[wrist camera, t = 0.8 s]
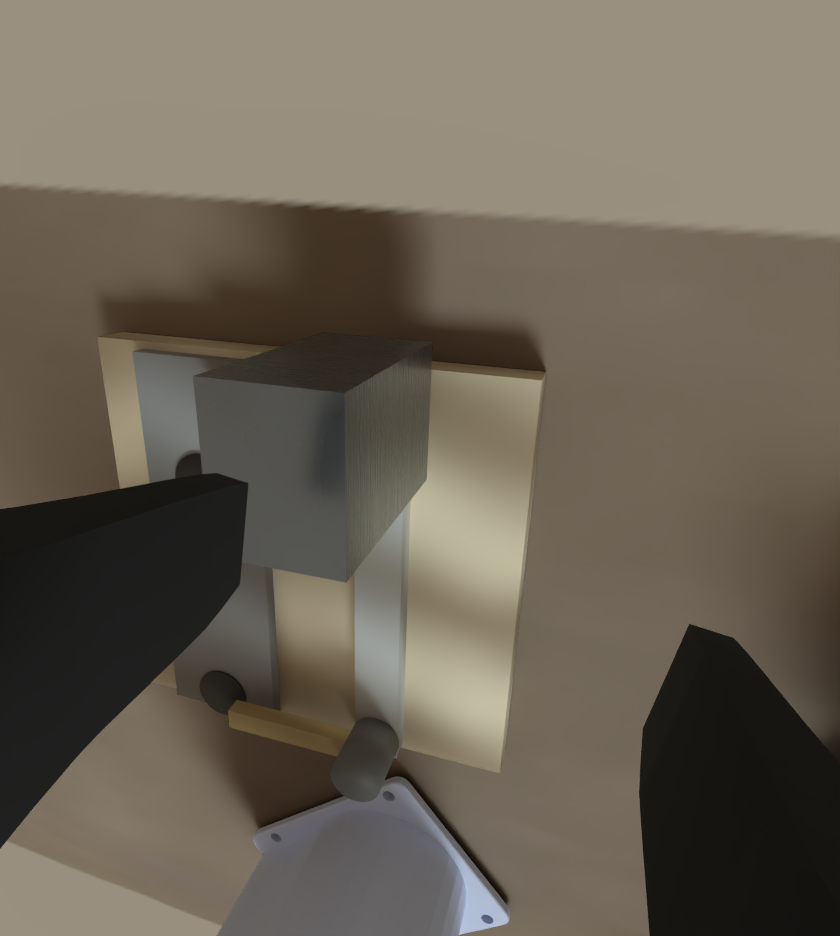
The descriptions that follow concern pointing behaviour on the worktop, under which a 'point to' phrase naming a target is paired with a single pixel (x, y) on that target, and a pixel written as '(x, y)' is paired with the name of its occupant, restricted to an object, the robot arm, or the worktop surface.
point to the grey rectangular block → (319, 445)
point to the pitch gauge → (360, 577)
